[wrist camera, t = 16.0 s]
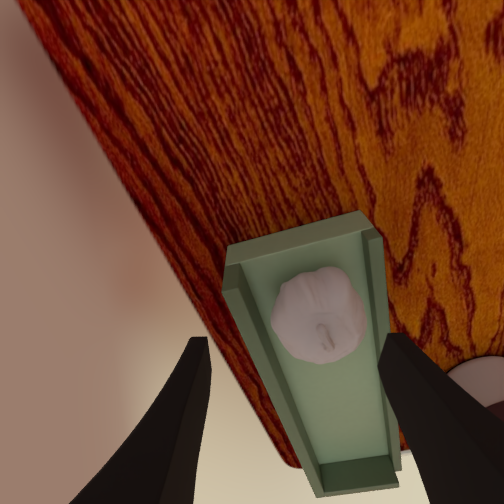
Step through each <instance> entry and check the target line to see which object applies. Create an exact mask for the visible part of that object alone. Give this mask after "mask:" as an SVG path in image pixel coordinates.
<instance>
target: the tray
mask: <svg viewBox="0 0 504 504" xmlns="http://www.w3.org/2000/svg"><path fill="white" fill-rule="evenodd" d="M323 267H337V268H339V269H341V270H343V271H344V272H345V273H346V274H347V275H348V277H349V279H350V282H351V285H352V287H353V288H354V289H355V291H356V292H357V293H358V294H359V296H360V297H361V299H362V301H363V304H364V311H365V314H366V318H367V328H366V332H365V336H364V338H363V340H362V341H361V343H360V344H359V345H358V347H357V348H356V350H355V351H353V352H351V353H349V354H348V355H347V356H345V357H342V358H341V359H340V360H337V361H335V362H329V363H325V364H315V363H314V362H307V361H305V360H301V359H297V358H295V357H293V356H292V355H291V354H290V353H289V352H288V351H287V350H286V348H285V347H284V346H283V344H282V343H281V341H280V340H279V338H278V336H277V334H276V333H275V332H274V330H273V329H272V326H271V312H272V309H273V307H274V305H275V301H276V298H277V296H278V294H279V293H280V287H281V285H282V284H283V283H284V282H288V281H289V280H290V279H292V278H294V277H295V276H297V275H298V274H300V273H303V272H313V271H316V270H318V269H320V268H323ZM222 294H223V297H224V299H225V301H226V303H227V305H228V307H229V310H230V312H231V314H232V316H233V318H234V320H235V323H236V325H237V327H238V329H239V331H240V333H241V336H242V338H243V340H244V342H245V344H246V346H247V349H248V351H249V353H250V355H251V357H252V359H253V362H254V364H255V366H256V368H257V370H258V372H259V375H260V377H261V379H262V381H263V383H264V385H265V388H266V390H267V392H268V394H269V396H270V398H271V401H272V403H273V405H274V407H275V409H276V411H277V414H278V416H279V418H280V420H281V422H282V424H283V427H284V429H285V431H286V433H287V435H288V437H289V440H290V442H291V444H292V446H293V448H294V450H295V453H296V455H297V457H298V459H299V461H300V463H301V466H302V468H303V470H304V472H305V474H306V476H307V479H308V481H309V483H310V485H311V487H312V489H313V492H314V494H315V496H316V498H321V497H325V496H326V497H329V496H336V495H343V494H352V493H360V492H367V491H375V490H383V489H390V488H398V487H399V482H398V479H397V476H396V473H395V472H396V471H401V470H402V466H401V453H400V441H399V429H398V421H397V419H396V416H395V414H394V412H393V410H392V407H391V405H390V403H389V400H388V398H387V396H386V393H385V391H384V388H383V385H382V382H381V378H380V375H379V371H378V368H377V365H378V362H379V359H380V355H381V352H382V349H383V346H384V343H385V340H386V336H387V333H390V322H389V310H388V298H387V286H386V274H385V262H384V250H383V238H382V236H381V235H380V234H379V233H378V231H377V230H376V229H375V228H374V226H373V225H372V224H371V223H370V221H369V220H368V219H367V218H366V216H365V215H364V214H363V213H362V211H361V210H358V211H354V212H351V213H347V214H343V215H339V216H336V217H332V218H328V219H325V220H321V221H317V222H314V223H310V224H306V225H303V226H299V227H295V228H291V229H288V230H284V231H280V232H277V233H273V234H269V235H266V236H262V237H258V238H255V239H251V240H247V241H244V242H240V243H236V244H232V245H229V246H227V254H226V262H225V269H224V277H223V285H222Z"/></svg>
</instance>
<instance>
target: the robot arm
mask: <svg viewBox="0 0 504 504" xmlns="http://www.w3.org/2000/svg"><path fill="white" fill-rule="evenodd" d="M377 368H378V371H379V375H380V378H381V382H382V385H383V388H384V391H385V393H386V396H387V398H388V400H389V403H390V405H391V407H392V410H393V412H394V414H395V416H396V419H397V421H398V423H399V425H400V428H401V430H402V432H403V434H404V436H405V439H406V441H407V443H408V445H409V448H410V450H411V452H412V455H413V457H414V459H415V462H416V464H417V467H418V470H419V473H420V476H421V479H422V481H423V484H424V487H425V490H426V493H427V496H428V499H429V502H430V504H504V422H503V421H502V420H501V419H499V418H498V417H497V416H496V415H494V414H493V413H492V412H491V411H489V410H488V409H487V408H486V407H484V406H483V405H482V404H481V403H479V402H478V401H477V400H476V399H475V398H474V397H472V396H471V395H470V394H469V393H468V392H466V391H465V390H464V389H463V388H462V387H461V386H460V385H458V384H457V383H456V382H455V381H454V380H453V379H452V378H451V377H449V376H448V375H447V374H446V373H445V372H444V371H443V370H442V369H441V368H440V367H439V366H438V365H436V364H435V363H434V362H433V361H432V360H431V359H430V358H429V357H428V356H427V355H426V354H425V353H424V352H423V351H422V350H421V349H420V348H419V347H418V346H417V345H415V344H414V343H413V342H412V341H411V340H410V339H409V338H408V337H407V336H406V335H405V334H404V333H387V336H386V340H385V343H384V346H383V349H382V352H381V355H380V359H379V362H378V365H377ZM211 372H212V368H211V361H210V354H209V346H208V339H207V337H191V338H190V339H189V341H188V343H187V346H186V348H185V350H184V352H183V354H182V355H181V357H180V359H179V361H178V363H177V365H176V366H175V368H174V370H173V372H172V373H171V375H170V377H169V378H168V380H167V382H166V384H165V385H164V387H163V388H162V390H161V391H160V393H159V395H158V396H157V397H156V399H155V401H154V402H153V404H152V405H151V407H150V408H149V409H148V411H147V412H146V414H145V415H144V416H143V418H142V419H141V420H140V422H139V423H138V425H137V426H136V427H135V429H134V430H133V431H132V432H131V434H130V435H129V436H128V438H127V439H126V440H125V441H124V442H123V444H122V445H121V446H120V448H119V449H118V450H117V451H116V452H115V453H114V455H113V456H112V457H111V458H110V459H109V461H108V462H107V463H106V464H105V465H104V466H103V467H102V469H101V470H100V471H99V472H98V473H97V474H96V475H95V476H94V477H93V478H92V480H91V481H90V482H89V483H88V484H87V485H86V486H85V487H84V488H83V489H82V490H81V491H80V493H78V495H77V496H76V497H75V498H74V499H73V500H72V501H71V502H70V503H69V504H193V501H194V491H195V480H196V471H197V463H198V457H199V452H200V446H201V441H202V435H203V430H204V424H205V419H206V414H207V408H208V402H209V396H210V385H211Z"/></svg>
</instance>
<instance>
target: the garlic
mask: <svg viewBox="0 0 504 504" xmlns="http://www.w3.org/2000/svg"><path fill="white" fill-rule="evenodd" d="M271 326H272V329H273V330H274V332H275V333H276V334H277V336H278V338H279V340H280V341H281V343H282V344H283V346H284V347H285V348H286V350H287V351H288V352H289V353H290V354H291V355H292V356H293V357H295V358H297V359H301V360H305V361H307V362H314V363H315V364H325V363H329V362H335V361H337V360H340V359H341V358H342V357H345V356H347V355H348V354H349V353H351V352H353V351H355V350H356V348H357V347H358V345H359V344H360V343H361V341H362V340H363V338H364V336H365V332H366V328H367V318H366V314H365V311H364V304H363V301H362V299H361V297H360V296H359V294H358V293H357V292H356V291H355V289H354V288H353V287H352V285H351V282H350V279H349V277H348V275H347V274H346V273H345V272H344V271H343V270H341V269H339V268H337V267H323V268H320V269H318V270H316V271H313V272H303V273H300V274H298V275H297V276H295V277H294V278H292V279H290V280H289V281H288V282H284V283H283V284H282V285H281V287H280V293H279V294H278V296H277V298H276V301H275V305H274V307H273V309H272V312H271Z"/></svg>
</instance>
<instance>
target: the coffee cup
mask: <svg viewBox="0 0 504 504" xmlns="http://www.w3.org/2000/svg"><path fill="white" fill-rule="evenodd" d="M447 375H448V376H449V377H451V378H452V379H453V380H454V381H455V382H456V383H457V384H458V385H460V386H461V387H462V388H463V389H464V390H465V391H466V392H468V393H469V394H470V395H471V396H472V397H474V398H475V399H476V400H477V401H478V402H479V403H481V404H482V405H483V406H484V407H486V408H487V409H488V410H489V411H491V412H492V413H493V414H494V415H496V416H497V417H498V418H499V419H501V420H502V421H503V422H504V357H500V356H487V357H481V358H476V359H473V360H470V361H467V362H464V363H462V364H460V365H458V366H457V367H455V368H454V369H452V370H451V371H449V372H448V373H447Z"/></svg>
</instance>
